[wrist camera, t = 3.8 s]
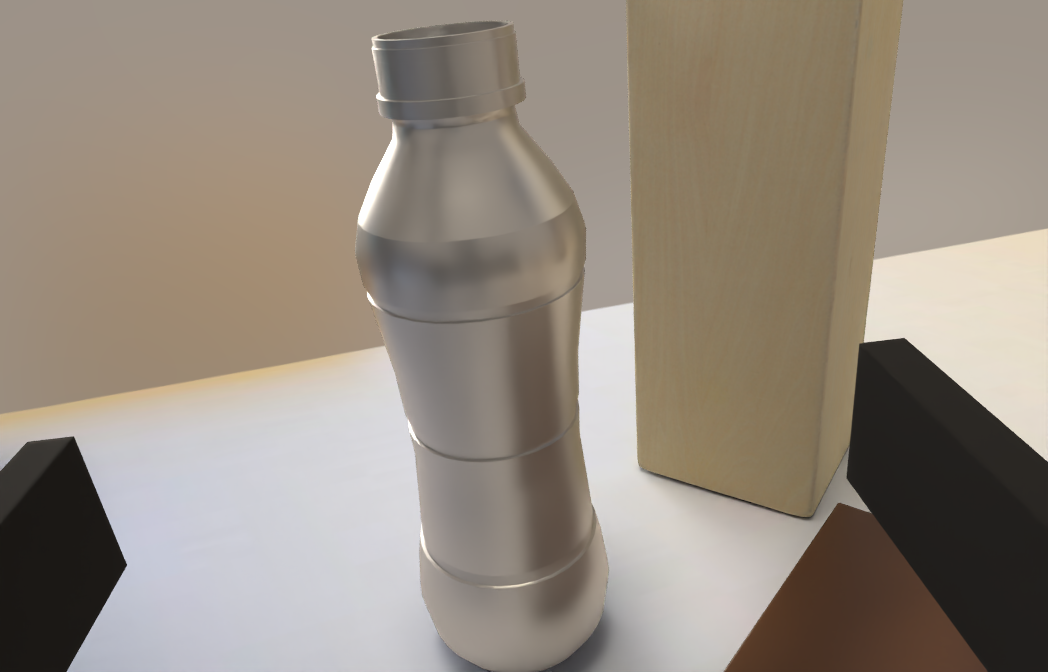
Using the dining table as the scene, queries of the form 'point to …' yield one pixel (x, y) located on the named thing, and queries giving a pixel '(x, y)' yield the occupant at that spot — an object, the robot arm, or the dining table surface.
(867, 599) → the walnut board
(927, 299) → the dining table surface
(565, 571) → the silver metal bottle
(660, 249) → the toy refrigerator
